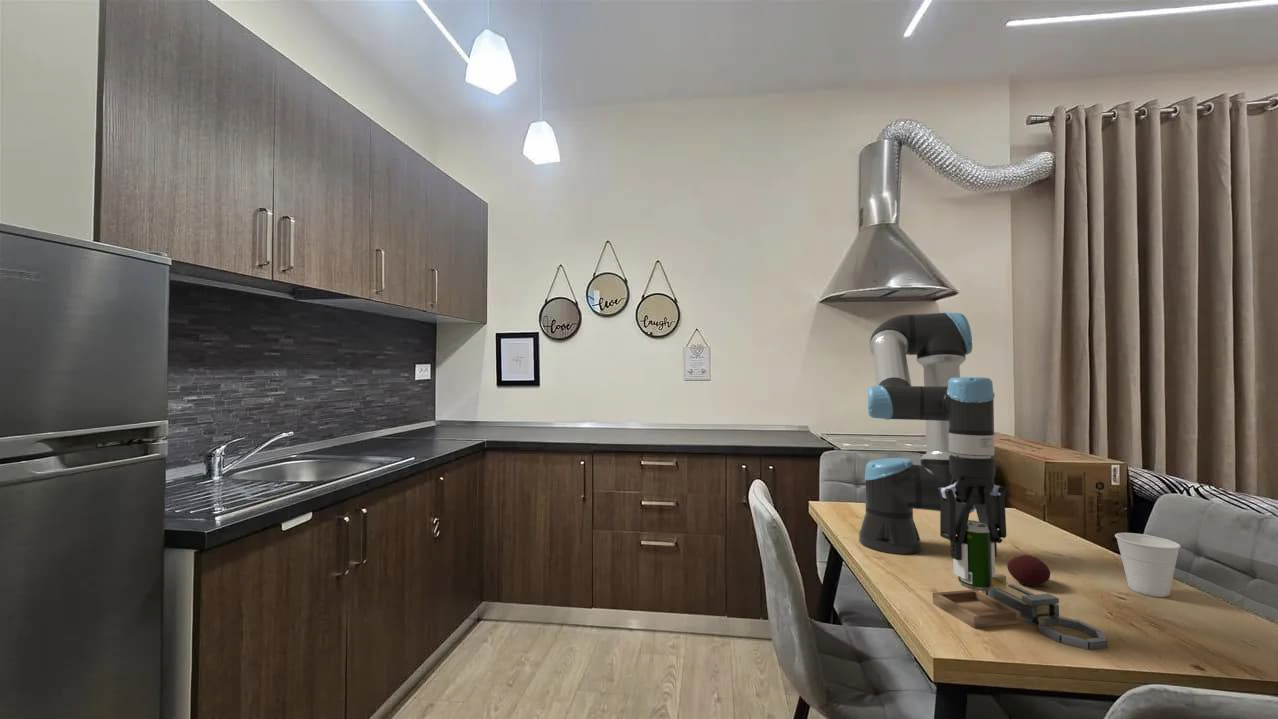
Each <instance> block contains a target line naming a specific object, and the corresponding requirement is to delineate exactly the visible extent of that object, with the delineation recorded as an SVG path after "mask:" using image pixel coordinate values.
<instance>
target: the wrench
mask: <svg viewBox="0 0 1278 719" xmlns="http://www.w3.org/2000/svg"><path fill="white" fill-rule="evenodd" d="M1007 586H1009V587H1011V588H1013V589H1015V590H1017V591H1020V592H1022V593H1024V594H1026V596H1022V600H1020V599H1018V598H1016V597H1014V596H1012V595H1010V594H1008V593H1006V592H1004V591H1001V590H999V589H997V588H995V587H993V586H991V587H990V589H989V590H988V596H989V597H991V598H993V599H995V600H997V601H999V602H1001V603H1003V604H1005V605H1007V606H1009V607H1011V608H1013V609H1015V610H1017V611H1019V612H1021V620H1024V621H1025V622H1028V623H1030V624H1032V625H1035V624H1037V628H1038V631H1039V633H1040V634H1043V635H1045V636H1047V637H1048V638H1050V639H1052V640H1053V641H1056V642H1058V643H1061V644H1063V645H1067V646H1072V647H1076V648H1080V649H1085V650H1090V651H1092V650H1100V649H1107V648H1108V640H1107V637H1106V635H1105V633H1104V631H1102V630H1101V629H1099V628H1097V627H1094V626H1093V625H1090V624H1089V623H1085V621H1080V620H1078V619H1073V618H1068V617H1064V616H1060V606H1059V603H1060V601H1059V600H1060V598H1059V597H1058V596H1055V595H1053V594H1051V593H1041V594H1035V593H1033V592H1031V591H1028V590H1027V589H1025V588H1024V589H1023V588H1022V587H1019V586H1017V585H1015V584H1013V583H1011V584H1008V585H1007ZM1037 605H1049V615H1050V616H1042V617H1038V620H1037V607H1035V606H1037ZM1058 625H1059V626H1063V627H1065V628H1066V627H1067V628H1072V629H1076V630H1079V631H1081V632H1084V633H1086V634H1087V635H1089V636H1092V637H1093V638H1081V637H1076V636H1072V635H1068V634H1064V633H1061V632H1059V631H1057V630H1055V629H1053V628H1052V627H1050V626H1058Z"/></svg>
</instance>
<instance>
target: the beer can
mask: <svg viewBox="0 0 1278 719" xmlns="http://www.w3.org/2000/svg"><path fill="white" fill-rule="evenodd" d="M988 527H989V525H988V524H986V523H983V522H979V520H972V519H968V523H967V528H966V533H965V537H964V542H963V543H965V544H968V579H964V578H961V577H959V576H957V578H958V582H959V584H960V585H961V586H962V587H964V588H967V589H968V590H977V591H979V592H982V591H987V590H989V589H990V587H991V586H992V583H991V542H990V530H989V528H988Z"/></svg>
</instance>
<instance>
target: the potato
mask: <svg viewBox="0 0 1278 719" xmlns="http://www.w3.org/2000/svg"><path fill="white" fill-rule="evenodd" d="M1006 566H1007V571H1008V572H1009V574H1010V575H1011V577H1013V578H1014V580H1016V581H1017V582H1019V583H1021V584H1023V585H1026V586H1030V587H1034V586H1036V587H1037V586H1038V587H1039V586H1041V585H1045V584H1046V583H1047V582H1048V581H1050V578H1051V571H1050V569H1049V567H1048V565H1046V564H1045V562H1043V561H1042V560H1041V559H1039V557H1036V556H1034V555H1031V554H1022V555H1018V556H1014V557H1013V558H1012V559H1010V560H1009V561H1008V563H1007V565H1006Z"/></svg>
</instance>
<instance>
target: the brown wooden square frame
mask: <svg viewBox="0 0 1278 719" xmlns="http://www.w3.org/2000/svg"><path fill="white" fill-rule="evenodd" d="M932 604H933V605H935V606H936V607H938V608H940V609H942V610H943V611H945V612H947V613H948V614H950V615H952V616H954V617H955V618H957V619H958V620H960V621H961V622H963V623H965V624H967V625H969V626H970V627H971V628H973V629H981V628H990V627H991V628H992V627H1000V626H1011V625H1021V624H1022V618H1021V612H1019V611H1017V610H1015V609H1013V608H1011V607H1009V606H1007V605H1005V604H1003V603H1001V602H999V601H997V600H995V599H993V598H991V597H989V596H987V595H985V594H983V593H982V591H978V590H973V589H965V590H963V589H962V590H951V591H940V592H932Z"/></svg>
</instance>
